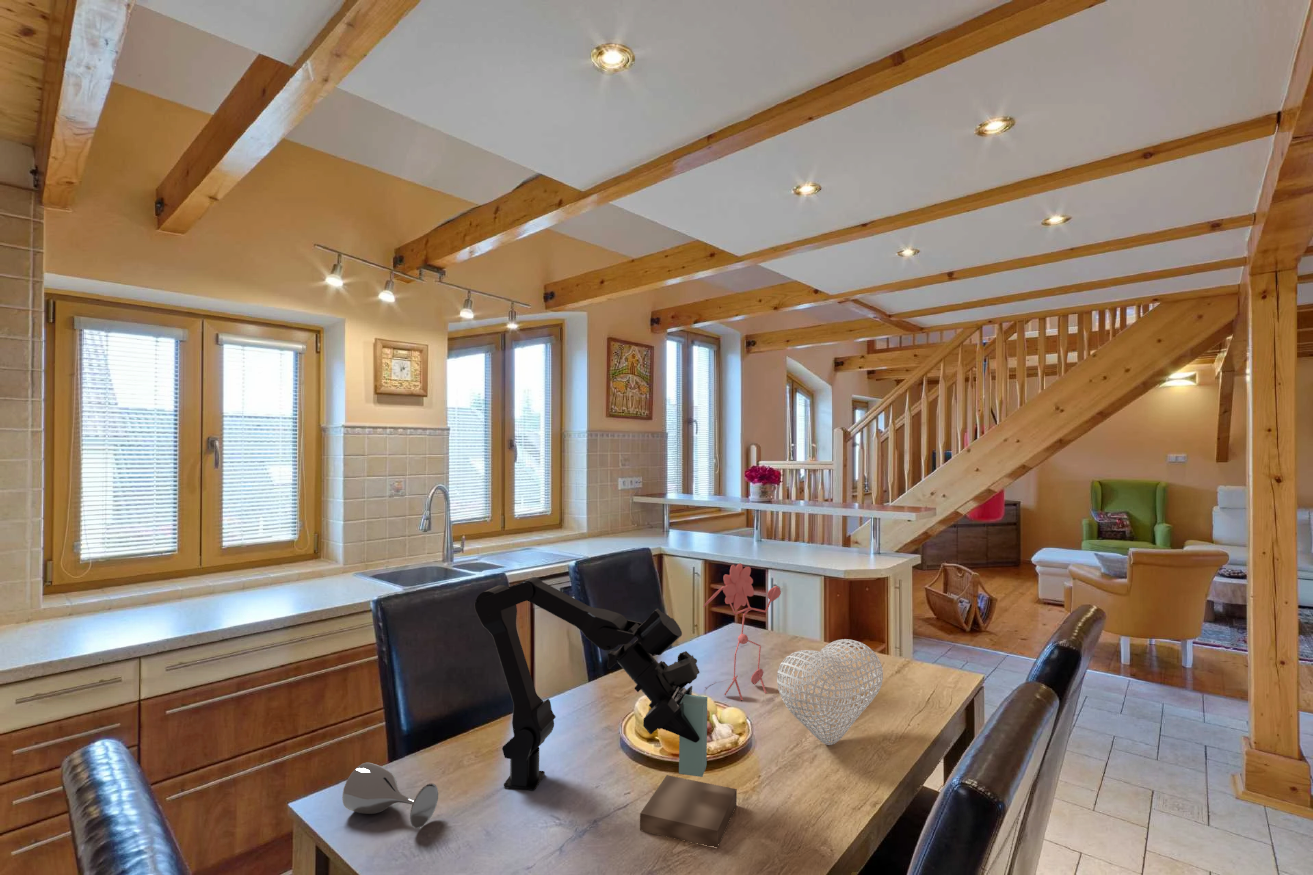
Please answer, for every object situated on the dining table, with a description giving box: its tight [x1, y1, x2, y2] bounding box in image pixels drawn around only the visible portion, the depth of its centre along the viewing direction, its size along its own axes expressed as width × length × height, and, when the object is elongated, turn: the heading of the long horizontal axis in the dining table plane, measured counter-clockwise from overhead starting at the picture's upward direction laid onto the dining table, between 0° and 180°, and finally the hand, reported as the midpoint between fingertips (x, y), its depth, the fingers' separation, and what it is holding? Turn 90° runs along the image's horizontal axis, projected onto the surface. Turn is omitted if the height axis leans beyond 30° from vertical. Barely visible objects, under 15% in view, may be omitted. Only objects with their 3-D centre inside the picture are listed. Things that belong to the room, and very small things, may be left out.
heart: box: [776, 638, 884, 746], centre depth 146 cm, size 28×16×22 cm, turn 127°
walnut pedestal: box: [639, 774, 738, 848], centre depth 117 cm, size 14×14×3 cm
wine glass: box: [341, 762, 439, 830], centre depth 116 cm, size 8×8×15 cm
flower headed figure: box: [702, 562, 782, 701], centre depth 178 cm, size 15×26×35 cm, turn 128°
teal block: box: [678, 694, 708, 778], centre depth 120 cm, size 4×4×13 cm
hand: (700, 735), depth 120 cm, fingers closed on teal block, 4 cm apart
